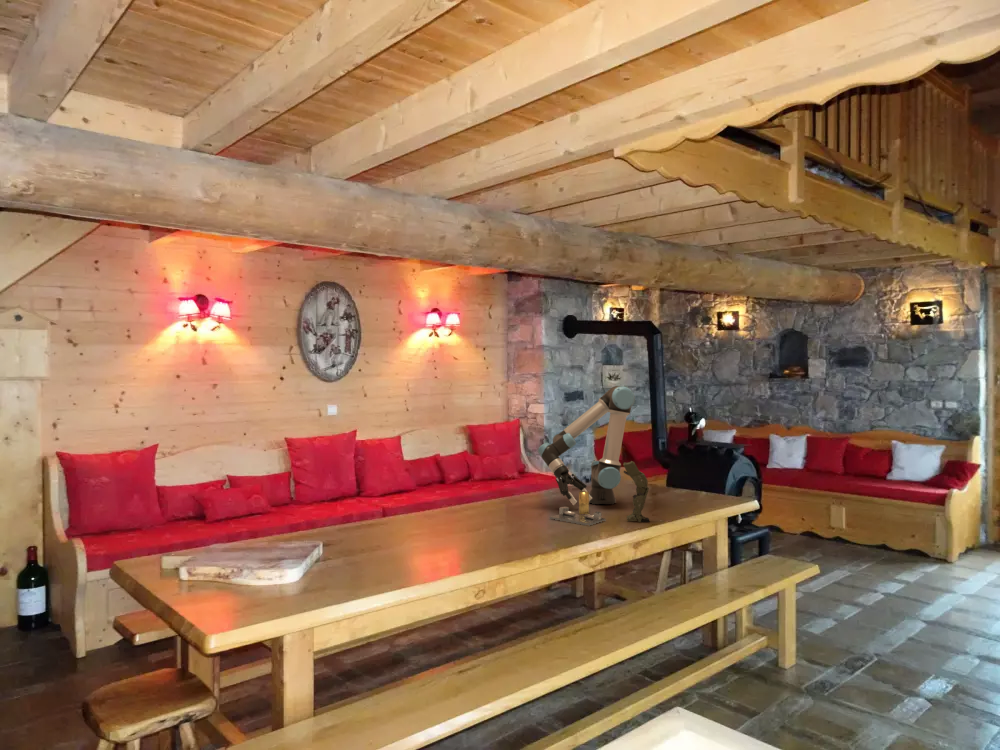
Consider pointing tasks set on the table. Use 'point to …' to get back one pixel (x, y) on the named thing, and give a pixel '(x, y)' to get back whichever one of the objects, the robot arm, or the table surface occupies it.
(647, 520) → the mechanical leg
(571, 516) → the bed plate
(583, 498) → the orange glossy cylinder
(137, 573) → the table surface
